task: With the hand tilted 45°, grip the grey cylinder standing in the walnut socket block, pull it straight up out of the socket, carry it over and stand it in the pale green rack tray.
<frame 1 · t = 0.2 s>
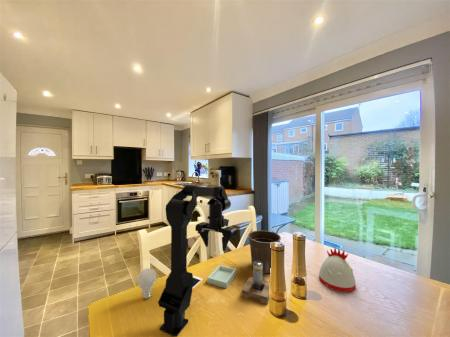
hand: (215, 248, 86), 14 cm above the table, tool pointing down, fingers open, 9 cm apart
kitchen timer: (336, 282, 86), on the table
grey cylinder: (257, 277, 78), in the socket block
socket block: (257, 292, 78), on the table
light bulb: (146, 298, 74), on the table
plant pot: (263, 268, 97), on the table
rack tray: (222, 278, 88), on the table
cell phone: (184, 287, 82), on the table
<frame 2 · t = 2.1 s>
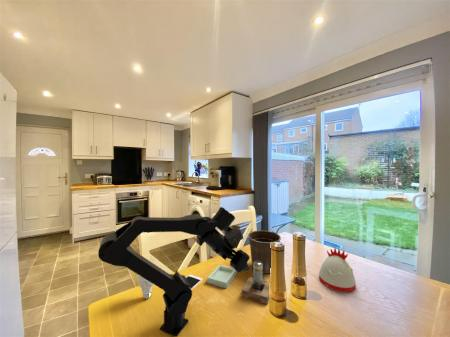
hand: (241, 264, 74), 13 cm above the table, tool tilted 45°, fingers open, 9 cm apart
nothing on the table moved.
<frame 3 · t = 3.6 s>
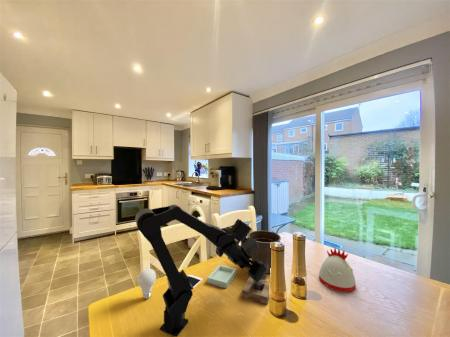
hand: (257, 272, 78), 8 cm above the table, tool tilted 45°, fingers open, 9 cm apart
nothing on the table moved.
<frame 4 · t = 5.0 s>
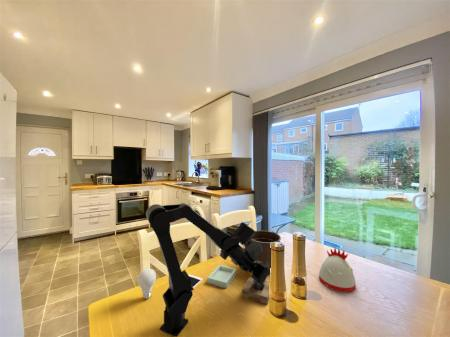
hand: (260, 275, 78), 7 cm above the table, tool tilted 45°, fingers closed on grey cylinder, 4 cm apart
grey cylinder: (257, 277, 78), in the socket block, touching gripper
everything else where it was.
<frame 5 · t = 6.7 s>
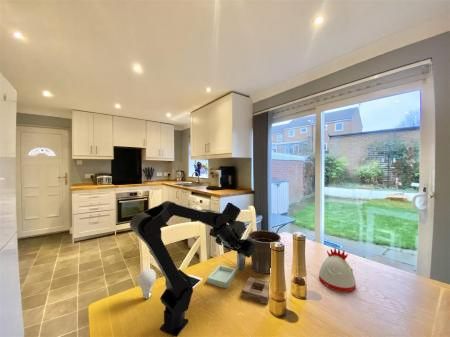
hand: (243, 252, 84), 13 cm above the table, tool tilted 45°, fingers closed on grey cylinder, 4 cm apart
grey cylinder: (241, 254, 83), point 13 cm above the table, touching gripper
everything else where it was.
when the fingers open (8 cm above the table, at t = 8.4 s): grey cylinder drops 1 cm, resting on rack tray.
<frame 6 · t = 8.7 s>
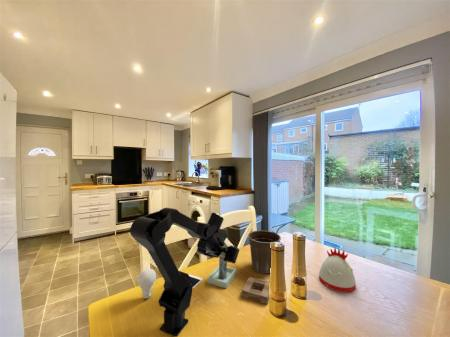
hand: (224, 258, 89), 9 cm above the table, tool tilted 45°, fingers open, 6 cm apart
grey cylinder: (223, 263, 87), in the rack tray, point 7 cm above the table
everything else where it was.
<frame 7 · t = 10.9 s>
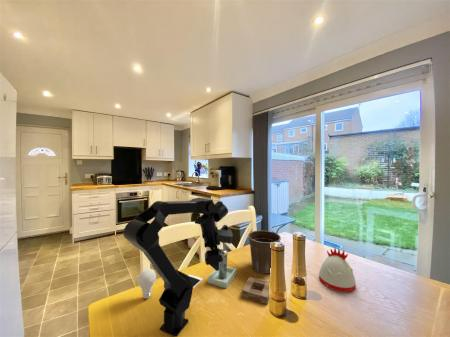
hand: (216, 261, 78), 12 cm above the table, tool tilted 20°, fingers open, 9 cm apart
nothing on the table moved.
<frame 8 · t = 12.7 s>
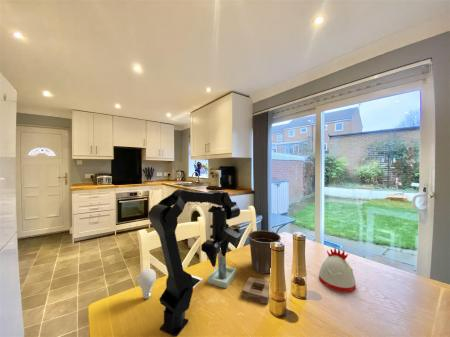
hand: (219, 261, 77), 13 cm above the table, tool pointing down, fingers open, 9 cm apart
nothing on the table moved.
at the end: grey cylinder inside the target area on the rack tray (0.1 cm from its centre), point 6.7 cm above the rack tray's base; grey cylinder tilted 2°; the gripper is holding nothing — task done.
